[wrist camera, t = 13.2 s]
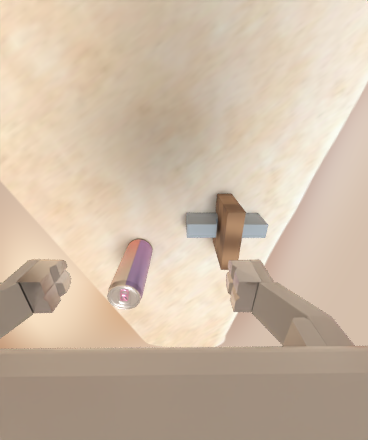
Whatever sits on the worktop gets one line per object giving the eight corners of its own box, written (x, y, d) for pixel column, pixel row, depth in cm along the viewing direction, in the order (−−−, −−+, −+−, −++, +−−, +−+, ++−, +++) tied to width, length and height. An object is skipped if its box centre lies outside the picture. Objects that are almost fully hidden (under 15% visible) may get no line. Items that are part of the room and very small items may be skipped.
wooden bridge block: (217, 193, 40) (227, 212, 31) (231, 193, 41) (245, 212, 32) (213, 241, 46) (221, 269, 37) (225, 241, 46) (236, 269, 37)
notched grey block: (186, 212, 42) (187, 224, 37) (257, 213, 43) (268, 224, 38) (186, 224, 44) (186, 237, 39) (255, 225, 44) (265, 237, 39)
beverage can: (154, 240, 45) (142, 287, 32) (151, 260, 48) (139, 312, 34) (128, 236, 45) (106, 283, 31) (127, 256, 47) (105, 308, 34)
